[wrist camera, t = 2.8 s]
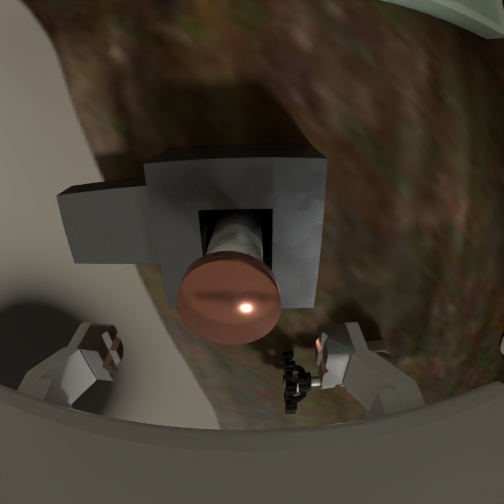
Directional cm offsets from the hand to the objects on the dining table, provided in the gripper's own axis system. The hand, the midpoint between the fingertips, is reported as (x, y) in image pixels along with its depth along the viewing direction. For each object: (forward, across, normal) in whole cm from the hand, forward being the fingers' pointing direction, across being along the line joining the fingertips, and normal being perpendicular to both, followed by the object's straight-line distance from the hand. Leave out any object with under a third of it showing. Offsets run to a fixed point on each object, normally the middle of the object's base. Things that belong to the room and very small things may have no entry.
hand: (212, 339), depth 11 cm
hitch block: (+13, +4, 0) cm, 13 cm away
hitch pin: (+12, -1, 0) cm, 13 cm away
